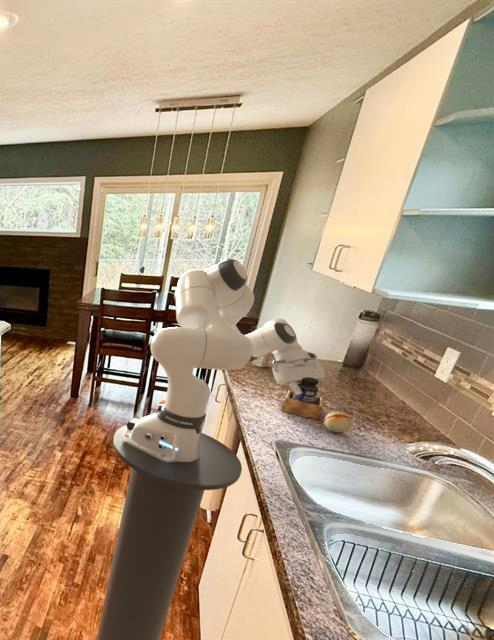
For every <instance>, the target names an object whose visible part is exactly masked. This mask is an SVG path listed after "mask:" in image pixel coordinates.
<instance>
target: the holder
mask: <svg viewBox="0 0 494 640" xmlns="http://www.w3.org/2000/svg"><path fill="white" fill-rule="evenodd" d="M294 393H295V391H294V390H289V389H288V391H287V393H286V396H285V399H284V402H283V405H282V408H281V411H282V412H285V413H289V414H293V415H297V416H301V417H305V418H308V419H313V420H317V421H318V419H319V417H320V414H321V412H322V409H323V407H324V406H323V405H324V397H321V396H317V395H316V396H315V399H314V402H313V404H310V403H306V402H302V401H298V400H294V399H292V398H293V396H294Z"/></svg>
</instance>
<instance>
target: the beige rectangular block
mask: <svg viewBox="0 0 494 640" xmlns="http://www.w3.org/2000/svg"><path fill="white" fill-rule="evenodd" d="M272 355H273V352H271V353H268V354H266V355H264V356H261V357H260V358H258V359H256V360H254V361H252V365H253V366H257V367H259V368H268V367H269V364H270V361H271V359H272Z"/></svg>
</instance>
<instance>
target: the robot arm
mask: <svg viewBox="0 0 494 640" xmlns="http://www.w3.org/2000/svg"><path fill="white" fill-rule="evenodd" d="M247 280H248V274H247V270H246V268H245V267H244V265H243V264H242V263H241V262H240V261H238V259H237V260H236V259H234V258H227V259H225V260H222V261H220V262H218V264H215V265H213V266H211V267H209V268H207V269H205V270H202V269H195V268H194V269H190V270H188V271H185V272H184V273H183V274H181V276H180V278H179V279H178V281H177V285H176V289H175V291H174V295H173V300H174V302H175V316H176V317H175V318H176V319H175V320H176V322H177V324H178V326H175V327H173V326H172V327H164V328H160V329H159V330H158V331H157V332H156V333H155V334H154V335H153V336H152V339H151V341H150V352H151V355H152V357H153V358H154V360H155V361H156V362H157V363H158V364H159V365H160V366H161V367H162V368H163V369H164V372H165V374H166V377H167V390H166V397H165V399H162V400H161V401H159V402H158V405H157V406H156V408H155V412H154V413H150V414H148V415H145V416H142V417H141V418H136V417H133V418H131V419H130V420H128V421H127V423H126V425H127V428H128V430H127V431H126V433H125V434H124V437H123V441H124V442H125V443H126V444H129V445H131V446H133V447H135V448H137V449H139V450H141V451H143V452H145V453H147V454H149V455H151V456H153V457H155V458H157V459H160V460H162V461H164V462H168V463H169V462H192V461H195V460H197V459H198V458H199V456H200V455H199V439H200V432H201V433H202V431H203V429H204V427H205V422H206V417H207V413H206V410H207V407H208V404H209V399H210V396H211V388H210V387H209V385H208V384H207V383H206V382H205V381H204V380H202V379H201V378H200V377H199V376H196V375H195V374H193V373H194V369H207V370H214V371H215V370H216V371H230V370H232V371H233V370H240V369H242V368H244V367H245V366H246V365H247V364H248V363H249V362H253V361H254V360H256V359H258V358H260V357H261V356H264V355H266V354H268V353H271V352H272V353H273V357H274V358H275V360H272V361H271V364H270V365H271V367H272V369H271V371H272V374H273V377H274V381H275V382H276V383H277V384H278V385H279V386H282V385H283V386H284V385H288V386H289V387H290V389H291V390H292V391H295V392H296V394H297V395H299V394H303V393H304V391H303V389H300V387H299V386H298V384H299V383H302V380H303V378H307V377H310V378H314V379H317V380H318V381H319V382H320V381H322V380H323V379H326V373H325V370H324V368H323V366H322V365H321V362H320V361H319V360H317V359H318V356H317V354H316V353H314V352H311V351H307V350H305V349H304V348H303V347H302V346H301V345H300V344H299V342H298V337H297V335H296V332H295V329H293V327H292V326H291V325H290V324H289V323H288V322H287V320H286V319H284V318H275V319H271V320H268V321H267V322H266V323H265V324H263V326H262V327H261V328H259V329H257V330H254V331H252V332H251V333H248V334H243V333H241V331H240V330H239V328H238V326H237V323H239V322H240V320H241V319H242V318H244V316H246V315H247V314H248V313H249V312H250V310H251V309H252V307H253V306H254V302H255V294H254V292H253V290H252V288H250V286H249V285H248V284H247ZM316 386H317V387H318V386H319V383H318V384H317V385H316ZM319 392H320V390H319V388H318V391H317V393H319Z"/></svg>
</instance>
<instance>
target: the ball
mask: <svg viewBox="0 0 494 640" xmlns="http://www.w3.org/2000/svg"><path fill="white" fill-rule="evenodd" d="M323 424H324V426H325V427H326V428H327V430H329V431H331V432H333V433H346V432H347V431H349V430H350V429H351V428H352V426H353V419H352V417H351V416H350V415H349V414H347V413H346V412H343V411H332V412H329V413H328V414H327V415H326V416H325V417H324V419H323Z"/></svg>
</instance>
